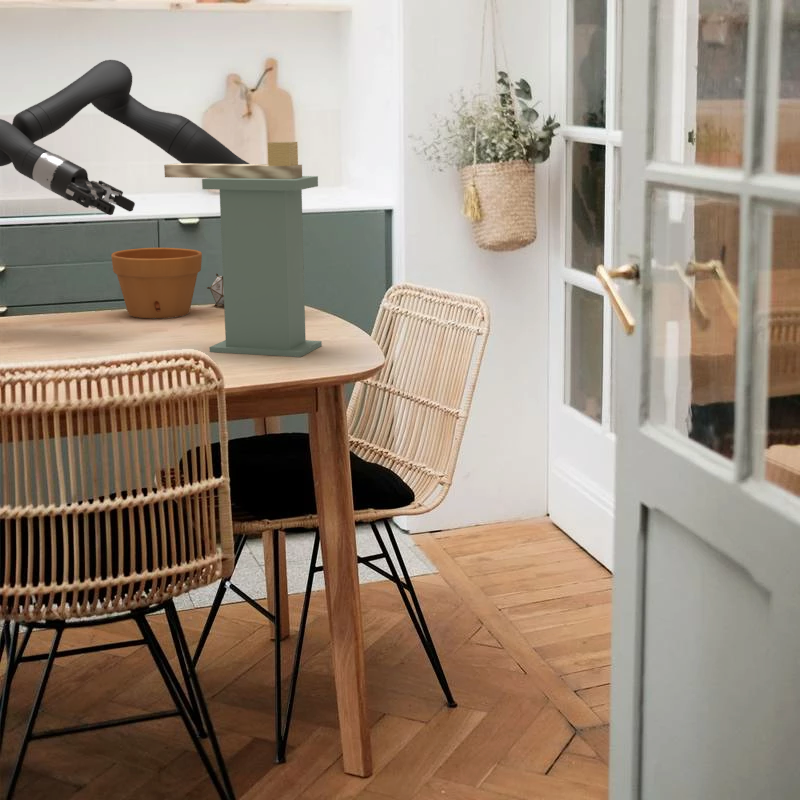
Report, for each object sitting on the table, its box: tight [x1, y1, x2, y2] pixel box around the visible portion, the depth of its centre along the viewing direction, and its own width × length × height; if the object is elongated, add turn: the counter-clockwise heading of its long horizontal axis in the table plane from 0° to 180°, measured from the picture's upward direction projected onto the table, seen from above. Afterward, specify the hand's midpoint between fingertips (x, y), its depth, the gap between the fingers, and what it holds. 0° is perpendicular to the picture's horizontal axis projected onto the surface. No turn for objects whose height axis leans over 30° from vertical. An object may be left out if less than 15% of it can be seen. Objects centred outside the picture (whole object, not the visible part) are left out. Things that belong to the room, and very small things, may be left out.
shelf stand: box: [201, 175, 323, 358], centre depth 264 cm, size 20×12×35 cm, turn 73°
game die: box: [206, 272, 224, 307], centre depth 321 cm, size 9×8×10 cm
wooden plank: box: [163, 162, 303, 179], centre depth 262 cm, size 28×5×2 cm, turn 73°
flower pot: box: [110, 247, 203, 319], centre depth 310 cm, size 21×21×15 cm
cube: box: [267, 141, 299, 166], centre depth 258 cm, size 4×4×4 cm
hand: (123, 209), depth 275 cm, fingers open, 8 cm apart
